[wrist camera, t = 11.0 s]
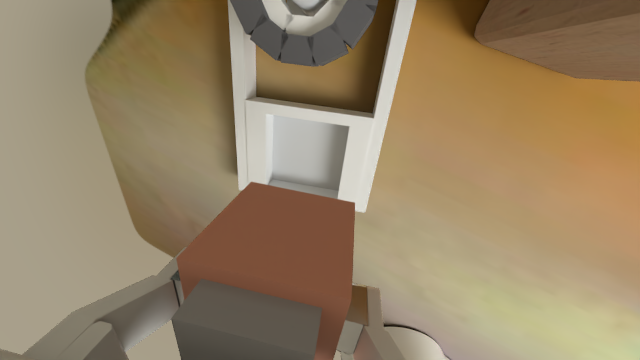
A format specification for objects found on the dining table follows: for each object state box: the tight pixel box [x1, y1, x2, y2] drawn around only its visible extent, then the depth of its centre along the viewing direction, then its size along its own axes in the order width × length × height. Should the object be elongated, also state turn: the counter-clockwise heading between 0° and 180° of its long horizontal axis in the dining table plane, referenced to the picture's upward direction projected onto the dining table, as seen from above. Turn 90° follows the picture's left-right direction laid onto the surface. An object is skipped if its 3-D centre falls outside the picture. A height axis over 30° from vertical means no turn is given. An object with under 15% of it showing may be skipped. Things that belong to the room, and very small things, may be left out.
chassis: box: [228, 0, 417, 213], centre depth 19 cm, size 22×14×9 cm, turn 174°
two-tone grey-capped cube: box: [171, 182, 355, 360], centre depth 9 cm, size 6×5×6 cm
